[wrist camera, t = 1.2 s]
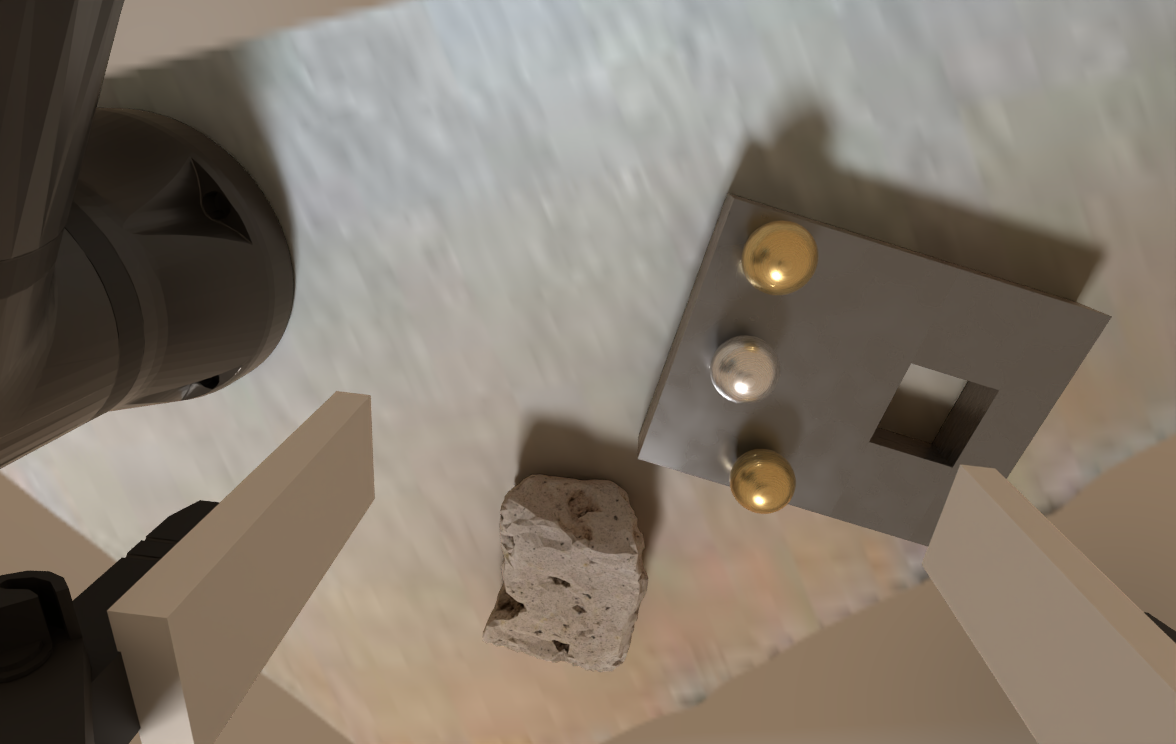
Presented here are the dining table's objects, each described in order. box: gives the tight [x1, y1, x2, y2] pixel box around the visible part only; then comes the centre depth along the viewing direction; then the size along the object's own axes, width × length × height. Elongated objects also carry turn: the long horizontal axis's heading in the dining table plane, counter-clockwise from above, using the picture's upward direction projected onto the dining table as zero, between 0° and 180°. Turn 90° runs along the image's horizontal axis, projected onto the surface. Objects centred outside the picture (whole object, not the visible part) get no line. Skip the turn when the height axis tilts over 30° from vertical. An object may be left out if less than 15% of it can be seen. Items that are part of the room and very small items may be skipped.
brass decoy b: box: [729, 449, 796, 514], centre depth 31 cm, size 3×3×3 cm
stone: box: [482, 474, 648, 672], centre depth 37 cm, size 13×6×10 cm
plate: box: [638, 193, 1112, 546], centre depth 32 cm, size 18×14×2 cm
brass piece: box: [741, 220, 818, 295], centre depth 27 cm, size 3×3×3 cm
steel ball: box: [710, 335, 780, 404], centre depth 29 cm, size 3×3×3 cm
